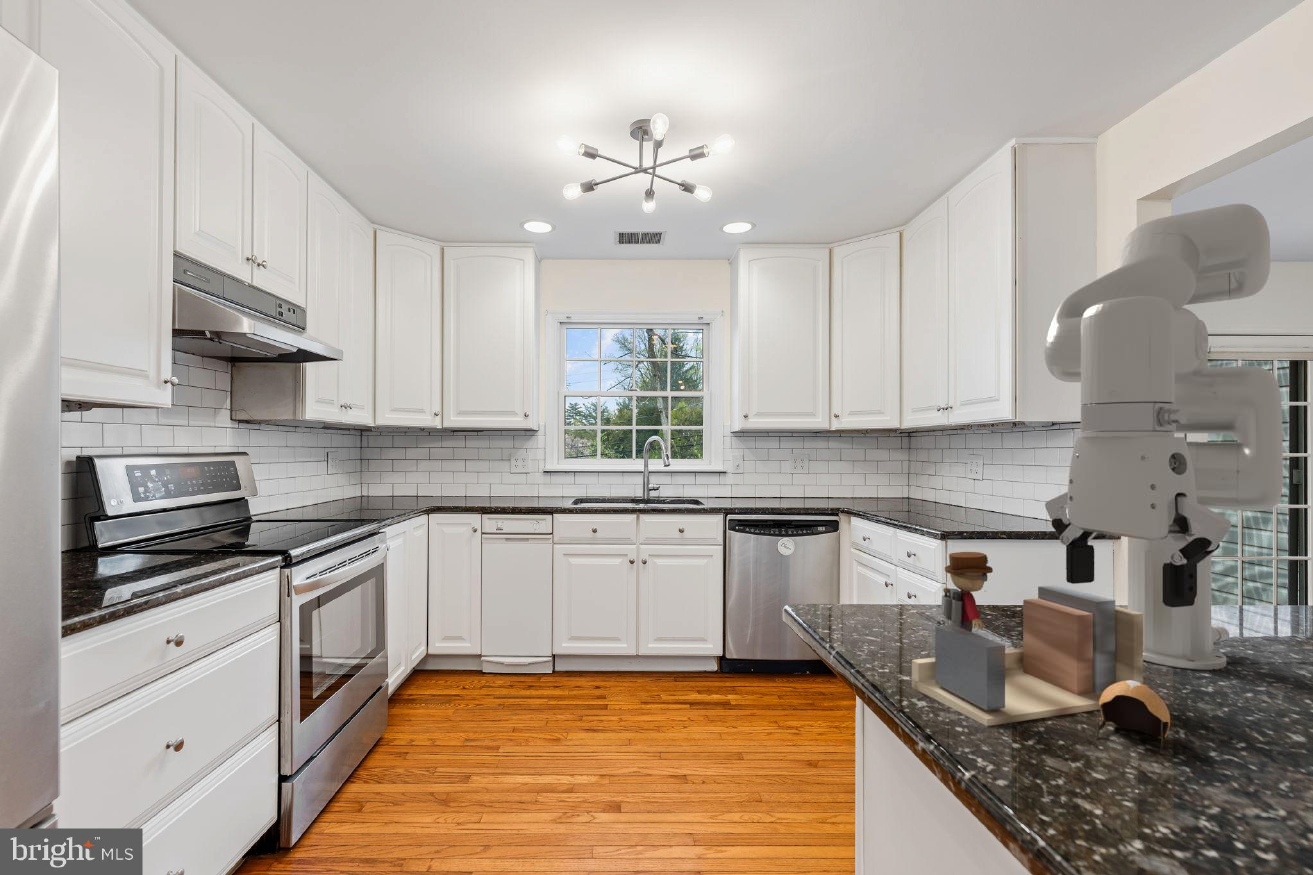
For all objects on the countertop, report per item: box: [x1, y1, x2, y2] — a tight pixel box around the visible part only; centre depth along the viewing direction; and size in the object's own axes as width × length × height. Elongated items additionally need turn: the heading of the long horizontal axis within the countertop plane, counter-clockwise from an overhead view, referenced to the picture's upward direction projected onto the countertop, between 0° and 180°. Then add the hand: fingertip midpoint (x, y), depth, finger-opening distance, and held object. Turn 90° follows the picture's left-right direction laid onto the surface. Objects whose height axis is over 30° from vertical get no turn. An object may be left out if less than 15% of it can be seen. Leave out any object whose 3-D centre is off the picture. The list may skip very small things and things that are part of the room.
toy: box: [940, 551, 994, 633], centre depth 90 cm, size 11×7×15 cm, turn 168°
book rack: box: [911, 584, 1144, 727], centre depth 75 cm, size 23×12×12 cm, turn 106°
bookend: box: [934, 624, 1006, 711], centre depth 72 cm, size 2×8×7 cm, turn 16°
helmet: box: [1096, 680, 1171, 756], centre depth 63 cm, size 6×7×8 cm
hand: (1125, 593), depth 61 cm, fingers open, 9 cm apart
